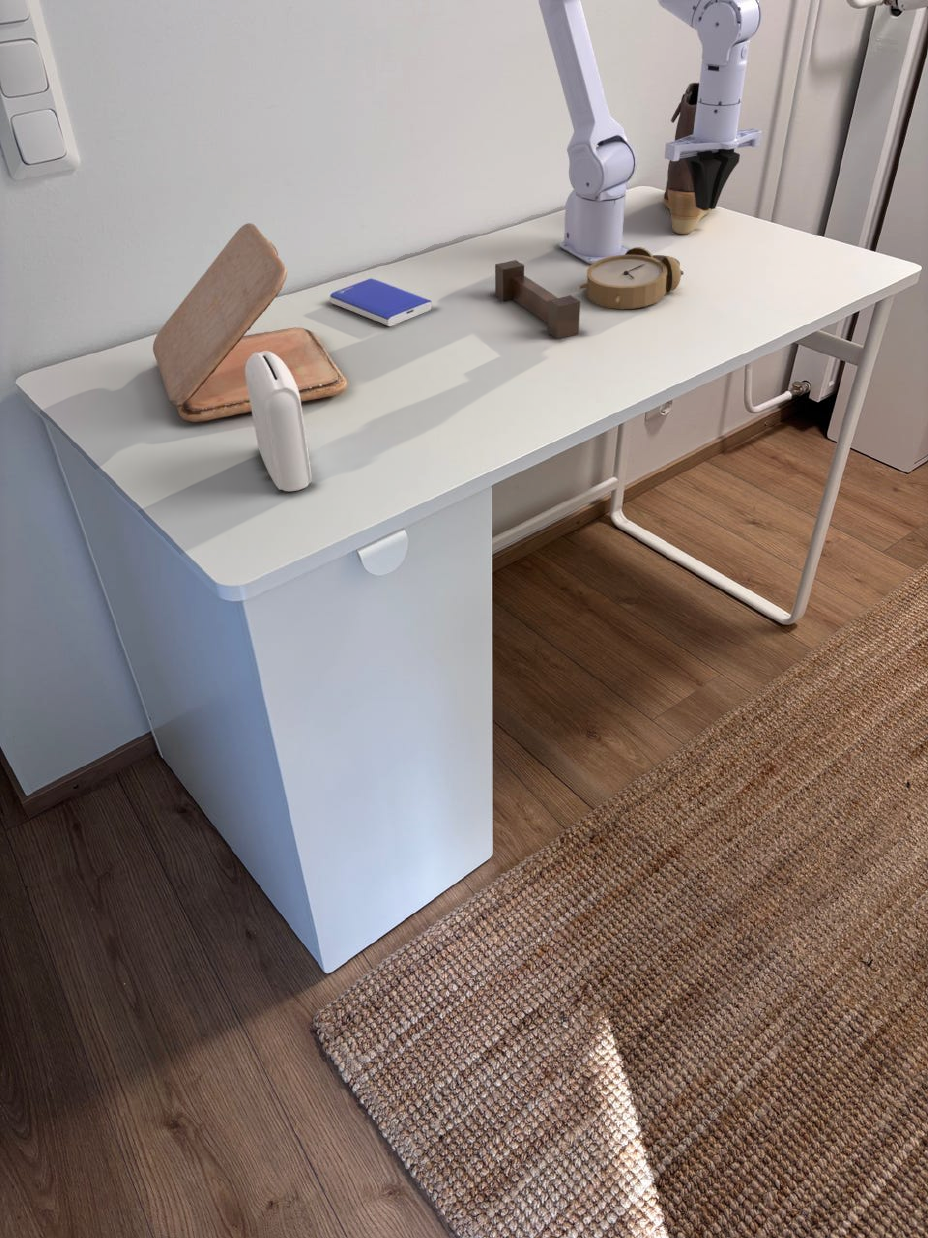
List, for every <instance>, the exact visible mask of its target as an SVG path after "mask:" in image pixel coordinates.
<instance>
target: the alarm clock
mask: <svg viewBox="0 0 928 1238" xmlns="http://www.w3.org/2000/svg"><path fill="white" fill-rule="evenodd" d="M683 275H684V271H683V270H682V269H681V262H680V261H679V259H677V258H675V257H673V256H670V255H663V254H652V252H650V251H649V250H648V249H647V248H644V247H641V246H636V247H632V248H631V249H629V251H628V252H627V253H626V254H625V255H617V256H611V257H607V258H604V259H601V260H598V261H597V262H595V263H592V264H590V265H589V267H588V268H587V269H586V283H583V284H580V285H578V287H579V290H580V289H581V290H582V289H586V296H587V298H588V299H589V300H590V301H591V302H592V303H594V304H595V305H598V306H601V307H604V308H607V309H617V310H631V309H633V310H634V309H639V308H643V307H644V308H645V307H647V306H650V305H653V304H656V303H658V302H659V301H660V300H662V299H663V298H664V297H665V295H666V294H667V293H669V292H672V291H673V292H674V291H675V290H676V289H677V288H678V286H679V285H680V282H681V277H682V276H683Z"/></svg>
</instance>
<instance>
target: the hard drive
mask: <svg viewBox="0 0 928 1238" xmlns="http://www.w3.org/2000/svg"><path fill="white" fill-rule="evenodd" d="M329 300H330V303H331V304H333V305H335V306H338V307H340V308H343V309H345V310H348V311H351V312H353V313H354V314H355V313H356V314H358V315H361V316H362V317H365V318H368V319H370V320H372V321H375V322H377V323H380V324H382V325H385V326H387V327H393V326H396V325H398V324H400V323H403V322H406V321H408V320H410V319H412V318H415V317H417V316H420V315H422V314H425V313H427V312H429V311H431V310H432V299H428V298H426V297H423V296H420V295H417V294H415V293H413V292H409V291H407V290H404V289H402V288H399V287H396V286H393V285H391V284H388V283H385V282H383V281H381V280H377V279H376V278H372V277H371V278H368V279H365V280H363V281H360V282H357V283H354V284H352V285H349V286H346V287H344V288H341V289H338V290H336V291H333V292H331V293H330V295H329Z"/></svg>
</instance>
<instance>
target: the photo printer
mask: <svg viewBox="0 0 928 1238" xmlns="http://www.w3.org/2000/svg"><path fill="white" fill-rule="evenodd" d="M245 377H246V382H247V388H248V393H249V399H250V404H251V410H252V411H251V415H252V420H253V425H254V426H253V427H254V431H255V436H256V442H257V446H258V450H259V453H260V456H261V459H262V461H263V464H264V466H265V468H266V471H267V472H268V474H269V476H270V478H271V480H272V482H273V483H274V485H275V487H277V489H278V490H282V491H283V492H295V491H300V490H302V489H305V488H307V487H308V486H309V484H311V483H312V479H313V478H312V477H313V476H312V469H311V461H310V455H309V449H308V441H307V435H306V429H305V422H304V421H305V420H304V415H303V408H302V402H301V400H300V394H299V391H298V388H297V385H296V383H295V380H294V378H293V376H292V374H291V372H290V371H289V369H288V367H287V366H286V365H285V363H284V362H283V361H282V360H281V359H280V358H279V357H278V356H277V355H275V354H273V353H271V352H268V351H263V352H261V353H253V354H252V355H251V356H250V357H249V359H248V360H247V363H246V366H245Z"/></svg>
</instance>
